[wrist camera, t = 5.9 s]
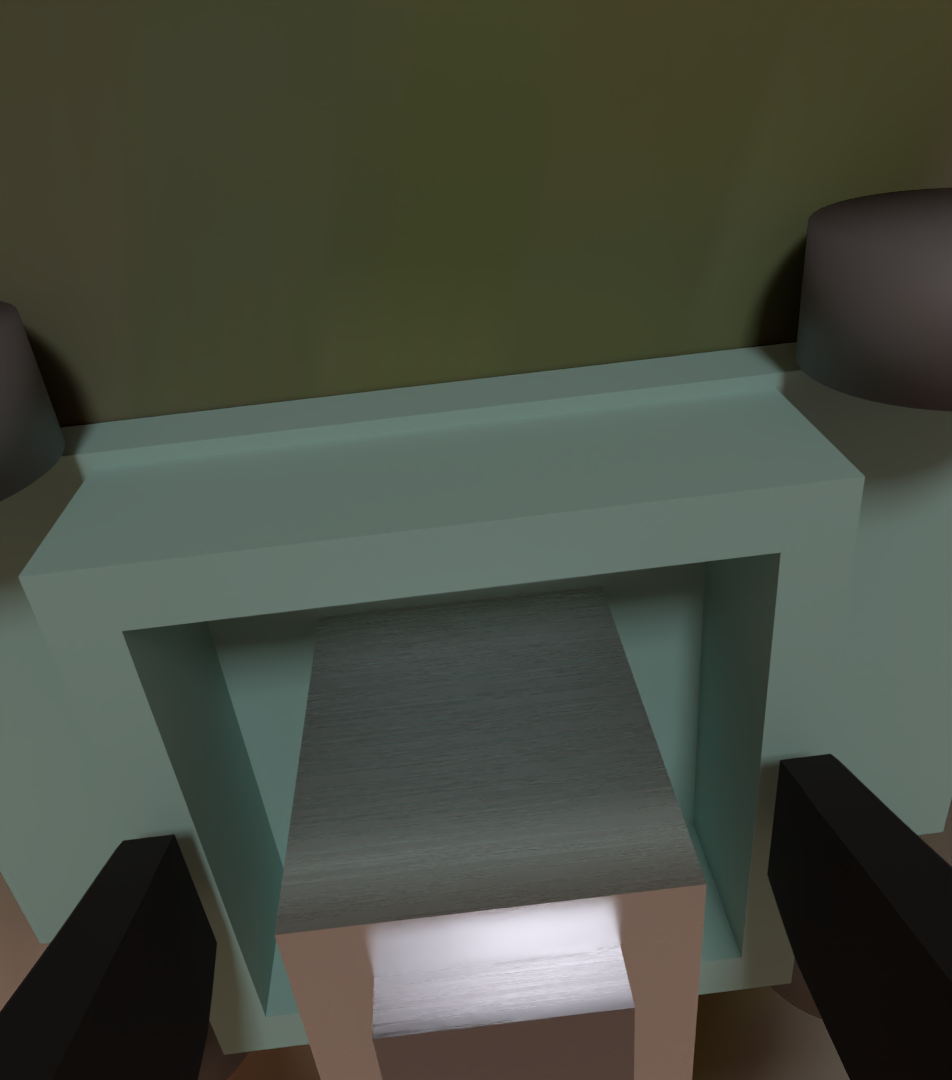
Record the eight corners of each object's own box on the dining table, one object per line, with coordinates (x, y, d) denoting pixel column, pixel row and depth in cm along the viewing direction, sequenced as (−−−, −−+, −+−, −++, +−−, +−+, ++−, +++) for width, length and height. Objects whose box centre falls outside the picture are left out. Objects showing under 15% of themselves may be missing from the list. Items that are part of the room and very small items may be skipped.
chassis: (1052, 173, 11) (1298, 231, 8) (900, 854, 17) (1003, 1028, 14) (-238, 320, 11) (-484, 436, 8) (90, 954, 17) (24, 1152, 14)
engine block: (601, 586, 12) (726, 942, 8) (604, 788, 15) (704, 1168, 10) (318, 617, 12) (266, 997, 8) (362, 816, 14) (341, 1214, 10)
